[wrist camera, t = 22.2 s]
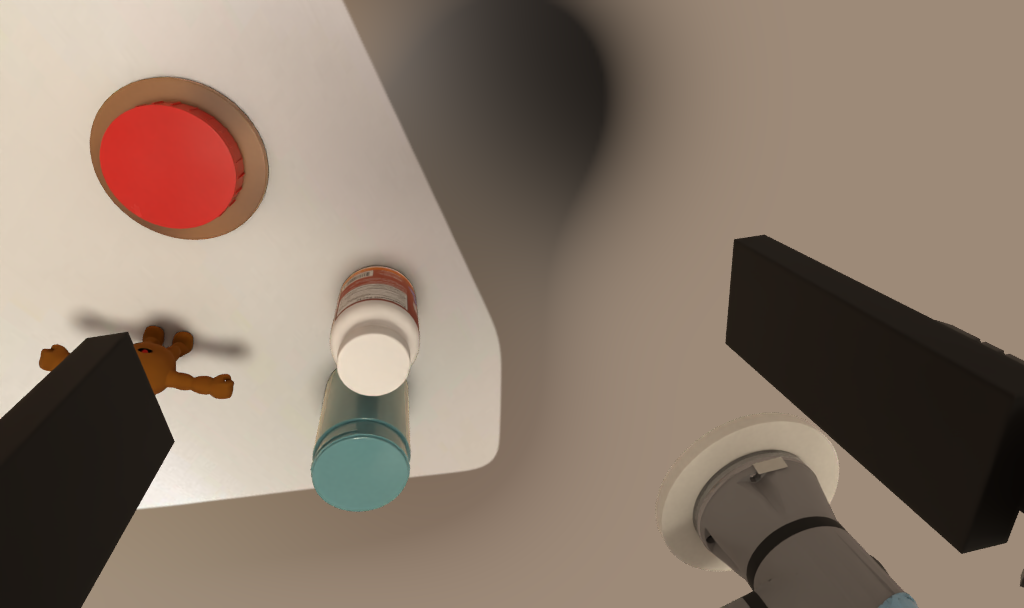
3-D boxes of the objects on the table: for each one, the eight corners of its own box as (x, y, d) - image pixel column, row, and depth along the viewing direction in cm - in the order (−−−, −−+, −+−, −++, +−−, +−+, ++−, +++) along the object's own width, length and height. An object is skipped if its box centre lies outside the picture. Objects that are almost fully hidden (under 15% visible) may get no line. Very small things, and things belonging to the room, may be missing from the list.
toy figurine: (254, 333, 46) (232, 376, 40) (246, 372, 47) (224, 420, 41) (83, 299, 42) (30, 341, 36) (80, 342, 43) (28, 389, 37)
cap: (142, 74, 37) (127, 76, 34) (265, 145, 40) (258, 150, 37) (95, 181, 38) (78, 189, 36) (215, 240, 42) (205, 250, 39)
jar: (419, 368, 50) (425, 447, 40) (393, 431, 52) (392, 521, 42) (339, 347, 48) (325, 425, 38) (316, 414, 50) (296, 504, 40)
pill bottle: (401, 341, 48) (402, 416, 39) (329, 319, 46) (311, 393, 37) (427, 277, 47) (436, 340, 37) (353, 252, 45) (341, 310, 35)
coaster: (287, 119, 40) (286, 120, 39) (245, 257, 43) (242, 260, 42) (113, 47, 36) (107, 47, 36) (81, 203, 40) (75, 206, 39)
